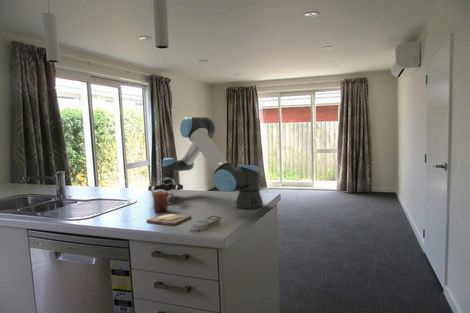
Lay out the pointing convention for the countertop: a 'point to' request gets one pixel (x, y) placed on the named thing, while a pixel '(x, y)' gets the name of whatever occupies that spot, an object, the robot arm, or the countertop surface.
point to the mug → (161, 201)
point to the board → (169, 219)
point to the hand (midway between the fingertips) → (164, 190)
